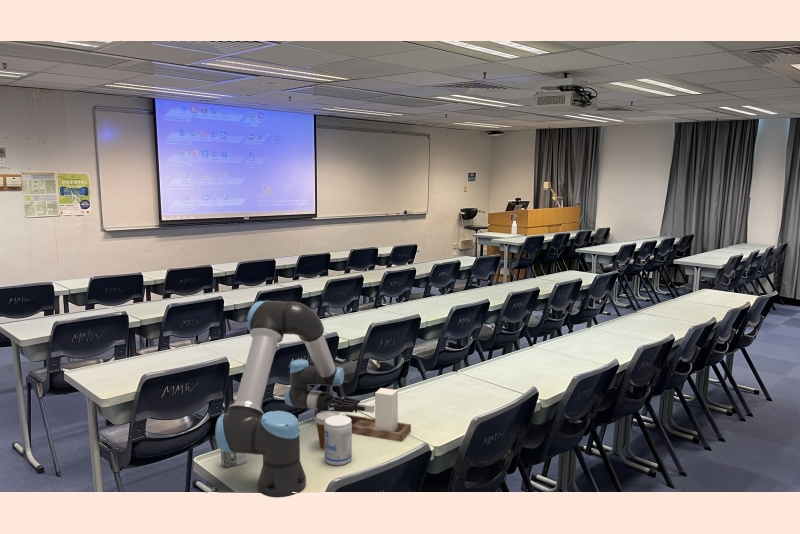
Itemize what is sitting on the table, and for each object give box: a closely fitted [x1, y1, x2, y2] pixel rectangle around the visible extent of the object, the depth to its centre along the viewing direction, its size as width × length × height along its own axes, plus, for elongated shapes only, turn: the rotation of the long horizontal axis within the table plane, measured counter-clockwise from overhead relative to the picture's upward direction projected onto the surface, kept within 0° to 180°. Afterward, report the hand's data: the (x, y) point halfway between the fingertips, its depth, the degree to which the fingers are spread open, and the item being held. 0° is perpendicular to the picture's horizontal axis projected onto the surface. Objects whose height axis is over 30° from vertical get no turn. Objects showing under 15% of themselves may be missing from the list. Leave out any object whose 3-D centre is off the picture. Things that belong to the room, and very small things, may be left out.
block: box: [374, 387, 399, 432], centre depth 225 cm, size 7×6×15 cm
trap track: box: [344, 414, 412, 442], centre depth 228 cm, size 28×10×3 cm, turn 69°
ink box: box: [220, 449, 248, 469], centre depth 200 cm, size 4×8×15 cm, turn 123°
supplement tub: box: [323, 414, 353, 466], centre depth 203 cm, size 10×10×15 cm
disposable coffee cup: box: [314, 411, 341, 450], centre depth 214 cm, size 10×10×12 cm
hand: (373, 408), depth 227 cm, fingers closed
